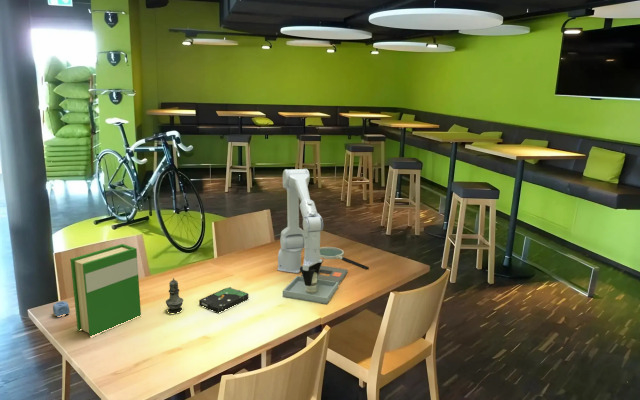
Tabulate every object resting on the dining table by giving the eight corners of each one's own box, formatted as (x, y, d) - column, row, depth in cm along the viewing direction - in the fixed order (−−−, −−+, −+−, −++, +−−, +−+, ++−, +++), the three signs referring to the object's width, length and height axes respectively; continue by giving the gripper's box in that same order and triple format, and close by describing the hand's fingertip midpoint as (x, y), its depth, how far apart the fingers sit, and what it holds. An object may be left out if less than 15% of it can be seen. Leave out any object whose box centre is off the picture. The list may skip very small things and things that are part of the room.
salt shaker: (167, 315, 160) (166, 282, 157) (164, 308, 165) (162, 276, 162) (185, 312, 162) (184, 279, 159) (181, 305, 167) (180, 273, 164)
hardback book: (91, 338, 145) (84, 264, 139) (77, 330, 149) (70, 258, 143) (141, 316, 159) (136, 248, 153) (127, 310, 163) (122, 243, 157)
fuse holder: (300, 279, 192) (300, 275, 192) (311, 267, 205) (311, 263, 205) (338, 285, 188) (338, 281, 187) (347, 272, 201) (347, 269, 200)
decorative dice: (66, 310, 161) (65, 300, 160) (70, 315, 158) (68, 304, 157) (53, 314, 158) (52, 303, 158) (56, 318, 156) (55, 307, 155)
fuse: (304, 292, 179) (304, 275, 177) (307, 288, 183) (308, 271, 181) (314, 294, 178) (315, 276, 176) (318, 289, 182) (318, 272, 180)
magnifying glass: (356, 274, 201) (357, 270, 200) (309, 254, 223) (309, 250, 222) (377, 267, 209) (378, 263, 209) (330, 248, 231) (330, 244, 231)
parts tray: (282, 296, 176) (282, 290, 176) (297, 281, 190) (297, 275, 190) (326, 304, 171) (326, 298, 170) (338, 288, 185) (338, 282, 185)
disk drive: (219, 315, 162) (249, 300, 174) (219, 308, 161) (249, 293, 173) (198, 307, 168) (228, 292, 180) (198, 299, 167) (228, 285, 179)
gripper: (316, 255, 168) (315, 290, 172) (328, 243, 182) (327, 276, 185) (297, 252, 171) (297, 287, 174) (310, 240, 184) (310, 273, 187)
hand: (311, 281), depth 180 cm, fingers open, 7 cm apart
